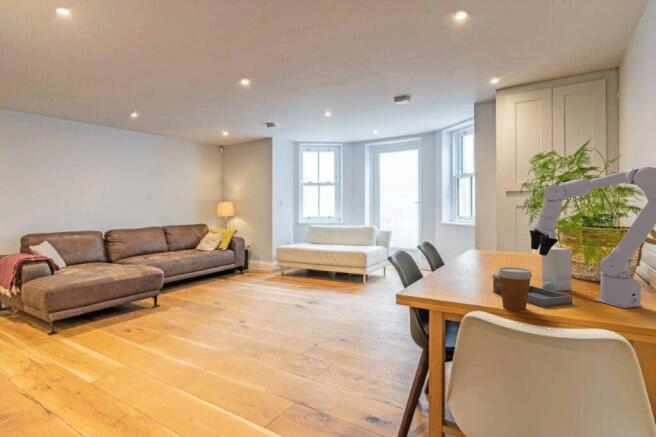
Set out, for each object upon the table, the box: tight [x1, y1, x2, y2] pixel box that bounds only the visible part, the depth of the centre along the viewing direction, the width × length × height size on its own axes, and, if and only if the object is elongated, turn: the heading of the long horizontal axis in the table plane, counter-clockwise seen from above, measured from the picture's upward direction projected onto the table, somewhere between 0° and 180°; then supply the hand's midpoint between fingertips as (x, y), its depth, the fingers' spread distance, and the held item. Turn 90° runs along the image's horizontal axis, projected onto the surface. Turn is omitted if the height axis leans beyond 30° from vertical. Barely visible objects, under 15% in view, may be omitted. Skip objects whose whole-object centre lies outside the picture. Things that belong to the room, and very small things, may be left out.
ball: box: [541, 282, 557, 292], centre depth 122 cm, size 4×4×4 cm
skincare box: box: [541, 246, 573, 292], centre depth 131 cm, size 8×7×16 cm
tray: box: [527, 284, 573, 308], centre depth 116 cm, size 16×12×2 cm
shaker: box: [492, 273, 502, 295], centre depth 125 cm, size 5×5×6 cm
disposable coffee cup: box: [497, 266, 533, 312], centre depth 106 cm, size 10×10×12 cm
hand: (538, 252), depth 128 cm, fingers open, 7 cm apart
